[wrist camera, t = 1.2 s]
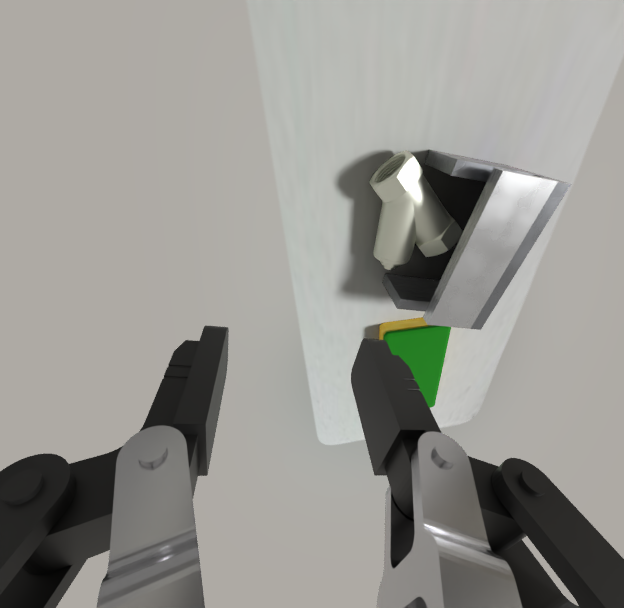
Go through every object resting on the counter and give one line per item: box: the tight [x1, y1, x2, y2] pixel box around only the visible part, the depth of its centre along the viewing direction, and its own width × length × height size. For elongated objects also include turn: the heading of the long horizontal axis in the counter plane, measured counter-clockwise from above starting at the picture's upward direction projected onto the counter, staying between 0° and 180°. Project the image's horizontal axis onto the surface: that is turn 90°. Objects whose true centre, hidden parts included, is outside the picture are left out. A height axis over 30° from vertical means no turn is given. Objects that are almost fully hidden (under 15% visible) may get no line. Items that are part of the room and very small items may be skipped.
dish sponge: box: [379, 318, 451, 408], centre depth 36 cm, size 7×14×2 cm, turn 6°
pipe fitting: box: [369, 151, 462, 270], centre depth 25 cm, size 8×4×7 cm
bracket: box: [382, 150, 571, 330], centre depth 25 cm, size 12×7×6 cm, turn 170°
